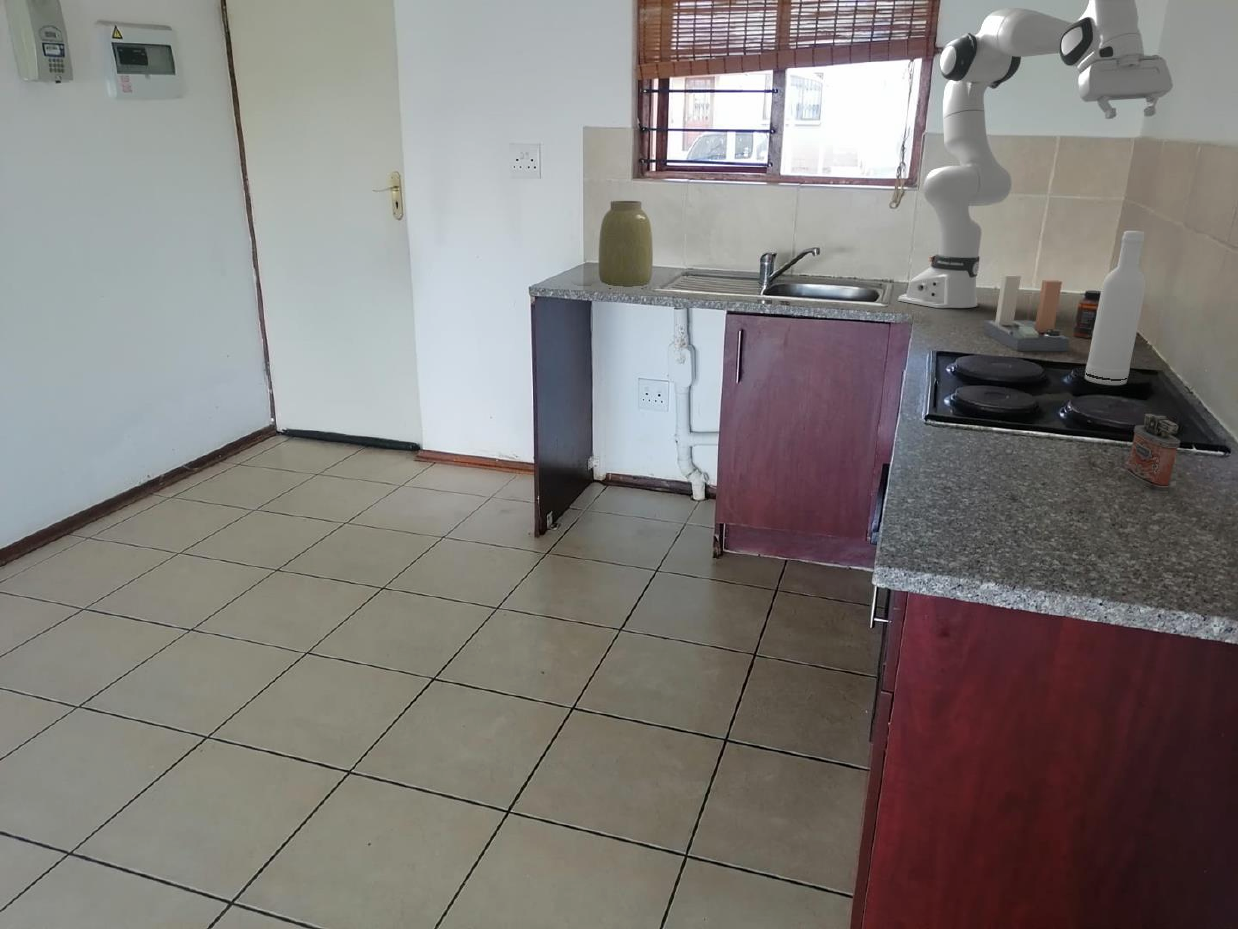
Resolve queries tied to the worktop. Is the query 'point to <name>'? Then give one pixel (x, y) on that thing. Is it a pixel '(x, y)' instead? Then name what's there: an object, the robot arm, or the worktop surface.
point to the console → (1018, 342)
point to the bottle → (1118, 315)
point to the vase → (625, 246)
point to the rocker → (1028, 332)
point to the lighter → (1153, 453)
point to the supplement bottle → (1087, 314)
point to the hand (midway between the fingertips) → (1130, 116)
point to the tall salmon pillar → (1048, 305)
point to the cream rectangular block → (1007, 299)
